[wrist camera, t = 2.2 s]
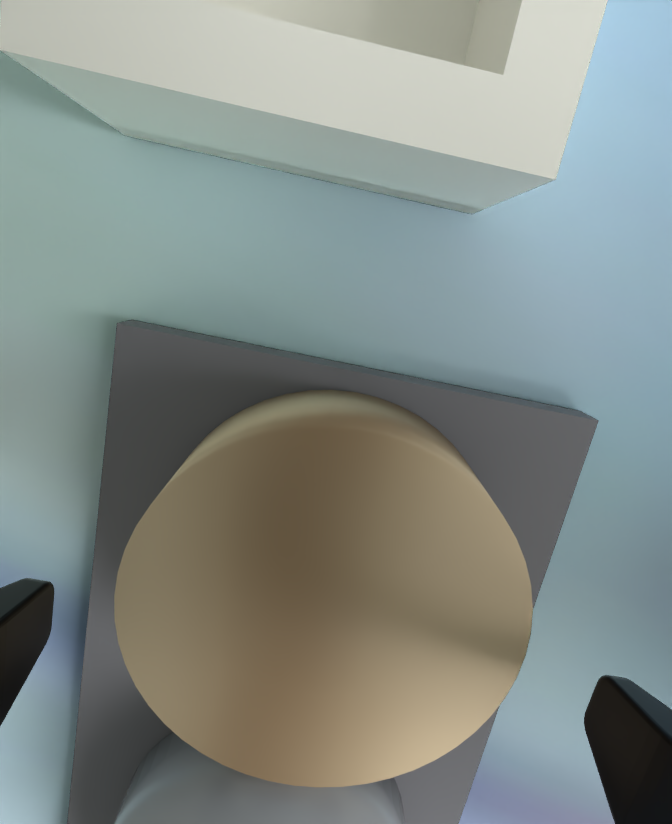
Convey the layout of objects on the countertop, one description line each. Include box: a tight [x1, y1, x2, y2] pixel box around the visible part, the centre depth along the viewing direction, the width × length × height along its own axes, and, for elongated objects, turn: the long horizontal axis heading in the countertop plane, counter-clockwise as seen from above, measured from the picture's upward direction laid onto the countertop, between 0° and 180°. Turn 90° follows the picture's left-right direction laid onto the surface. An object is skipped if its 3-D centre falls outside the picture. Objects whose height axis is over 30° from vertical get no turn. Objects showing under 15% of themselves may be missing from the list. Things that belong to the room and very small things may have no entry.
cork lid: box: [114, 390, 533, 787], centre depth 10 cm, size 7×7×3 cm
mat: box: [67, 320, 598, 824], centre depth 13 cm, size 10×16×1 cm, turn 168°
